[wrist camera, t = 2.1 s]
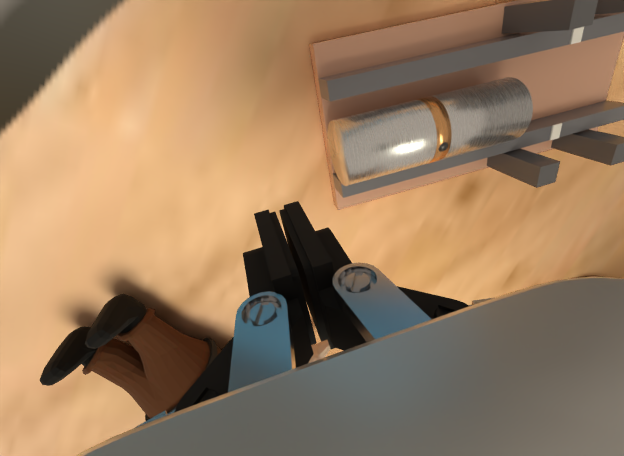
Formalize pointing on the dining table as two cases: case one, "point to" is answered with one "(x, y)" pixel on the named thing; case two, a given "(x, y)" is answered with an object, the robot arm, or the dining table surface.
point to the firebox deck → (480, 69)
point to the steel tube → (428, 129)
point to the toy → (139, 355)
